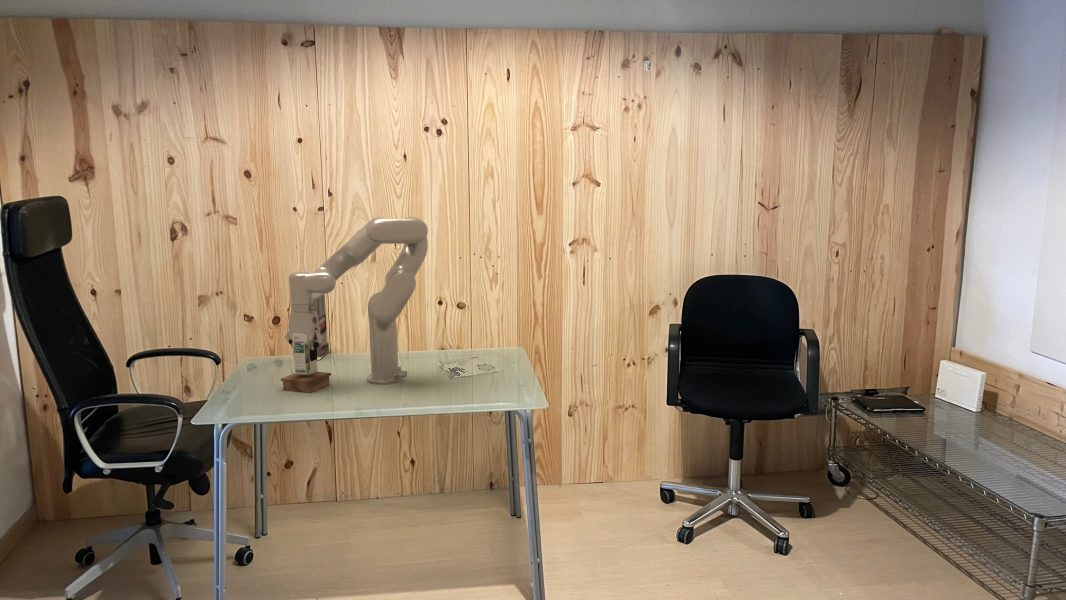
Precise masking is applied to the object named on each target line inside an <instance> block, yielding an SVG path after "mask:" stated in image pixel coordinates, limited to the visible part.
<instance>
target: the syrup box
mask: <svg viewBox="0 0 1066 600" xmlns="http://www.w3.org/2000/svg"><path fill="white" fill-rule="evenodd" d="M313 345H314V344H313ZM293 347H294V355H293V361H294V362H293V363H294V373H295V374H303V375H310V374H312V373H314V372H316V371H317V372H319V371H318V360H314V361H310V350H311V348H310V345H309V342H308V339H307V334H299V333H293Z"/></svg>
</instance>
